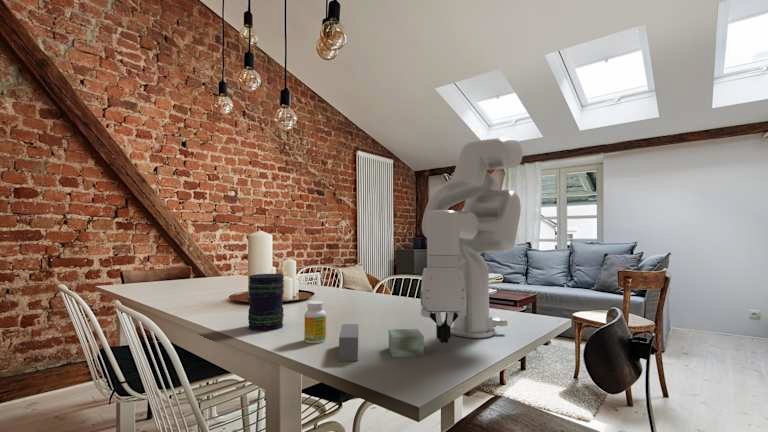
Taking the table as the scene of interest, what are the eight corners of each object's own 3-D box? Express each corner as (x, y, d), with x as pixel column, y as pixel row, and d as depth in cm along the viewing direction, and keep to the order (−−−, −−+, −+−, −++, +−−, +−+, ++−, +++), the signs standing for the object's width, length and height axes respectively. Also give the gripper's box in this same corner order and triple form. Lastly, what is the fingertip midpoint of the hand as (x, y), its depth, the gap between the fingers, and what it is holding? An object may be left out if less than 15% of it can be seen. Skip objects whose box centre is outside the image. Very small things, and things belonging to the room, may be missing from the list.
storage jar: (290, 326, 114) (290, 275, 114) (260, 333, 106) (261, 278, 107) (270, 321, 120) (271, 273, 121) (241, 327, 113) (242, 275, 113)
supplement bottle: (315, 345, 95) (316, 305, 96) (299, 341, 98) (300, 302, 98) (330, 339, 100) (330, 301, 100) (314, 336, 103) (314, 299, 103)
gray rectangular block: (358, 344, 96) (358, 324, 96) (357, 360, 84) (357, 337, 84) (341, 344, 95) (342, 324, 96) (339, 361, 83) (339, 337, 84)
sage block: (417, 347, 94) (417, 328, 94) (423, 356, 87) (423, 336, 87) (388, 348, 93) (388, 329, 93) (392, 357, 86) (392, 337, 86)
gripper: (470, 261, 96) (470, 337, 95) (409, 261, 95) (409, 337, 94) (479, 263, 88) (479, 346, 87) (413, 263, 87) (413, 346, 87)
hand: (443, 341), depth 91 cm, fingers closed
